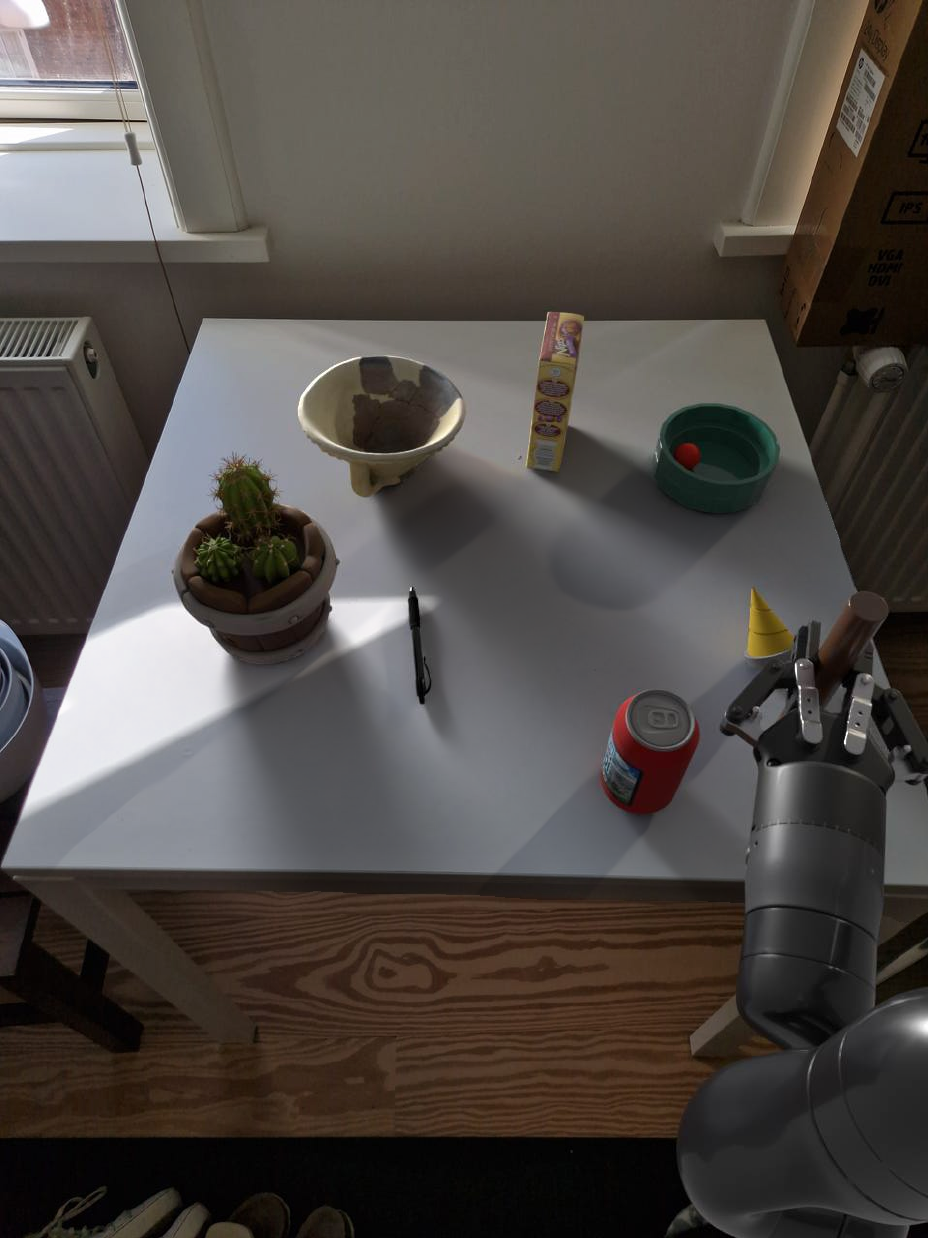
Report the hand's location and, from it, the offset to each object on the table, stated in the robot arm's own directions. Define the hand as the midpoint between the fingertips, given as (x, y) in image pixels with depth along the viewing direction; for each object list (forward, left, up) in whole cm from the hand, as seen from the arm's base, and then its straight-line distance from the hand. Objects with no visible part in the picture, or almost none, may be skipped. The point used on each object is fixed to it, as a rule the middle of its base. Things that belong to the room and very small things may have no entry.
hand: (832, 633), depth 61 cm
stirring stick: (0, +3, -10) cm, 10 cm away
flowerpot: (+48, -1, -21) cm, 52 cm away
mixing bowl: (+9, -36, -21) cm, 43 cm away
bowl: (+45, -26, -21) cm, 56 cm away
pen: (+33, -3, -21) cm, 39 cm away
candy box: (+28, -35, -21) cm, 50 cm away
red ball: (+12, -36, -19) cm, 42 cm away
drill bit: (+1, -12, -21) cm, 24 cm away
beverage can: (+10, +5, -21) cm, 24 cm away
